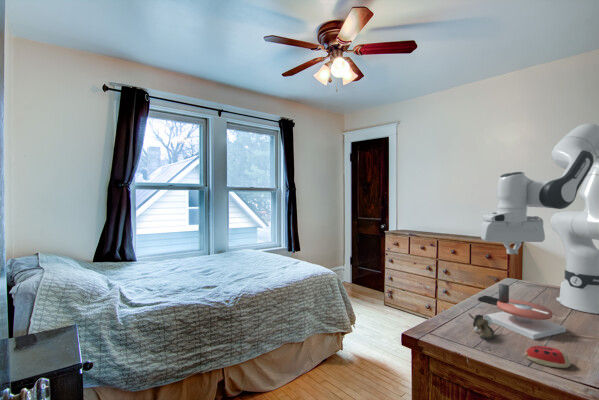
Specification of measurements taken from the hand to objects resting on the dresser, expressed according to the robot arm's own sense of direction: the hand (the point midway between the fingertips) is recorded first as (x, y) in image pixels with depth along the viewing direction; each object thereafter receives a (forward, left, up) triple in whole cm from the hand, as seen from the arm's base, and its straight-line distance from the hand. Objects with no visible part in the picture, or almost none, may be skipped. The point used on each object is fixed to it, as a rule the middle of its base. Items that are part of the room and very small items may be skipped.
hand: (512, 253), depth 105 cm
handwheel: (+3, +6, -18) cm, 20 cm away
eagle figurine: (+23, +6, -24) cm, 33 cm away
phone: (-10, -11, -24) cm, 28 cm away
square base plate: (+3, +6, -23) cm, 24 cm away
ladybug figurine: (+21, +23, -24) cm, 39 cm away
